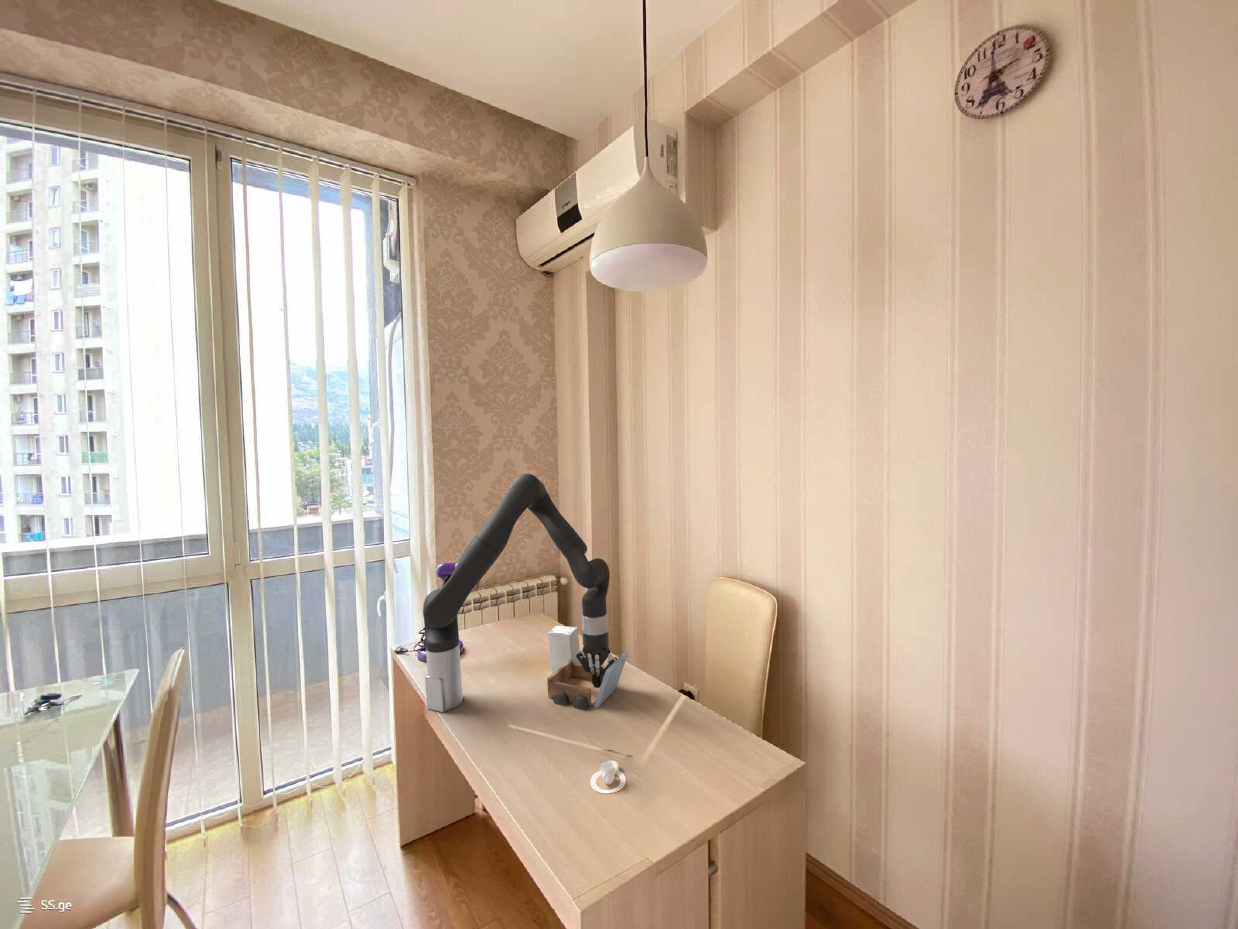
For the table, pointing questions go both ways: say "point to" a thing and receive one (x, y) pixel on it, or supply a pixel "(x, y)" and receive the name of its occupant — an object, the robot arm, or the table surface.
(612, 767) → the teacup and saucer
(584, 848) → the table surface
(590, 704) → the wooden toy cart
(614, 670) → the tailgate
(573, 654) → the skincare box
